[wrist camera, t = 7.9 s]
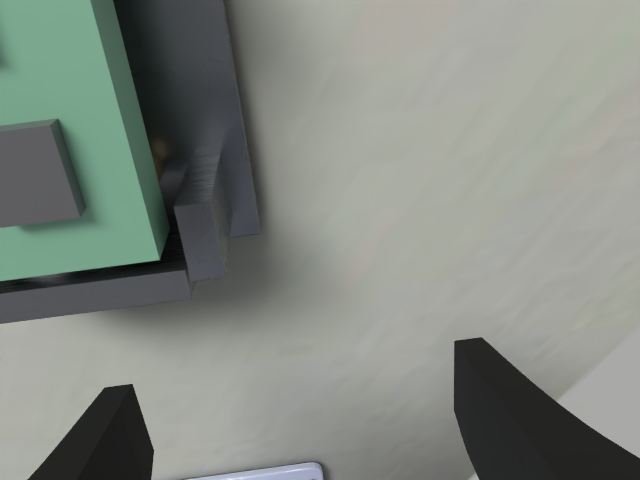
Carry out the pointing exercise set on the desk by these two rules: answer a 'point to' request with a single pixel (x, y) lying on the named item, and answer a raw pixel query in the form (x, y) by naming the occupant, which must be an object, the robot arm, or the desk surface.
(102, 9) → the board
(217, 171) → the chassis
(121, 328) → the desk surface
